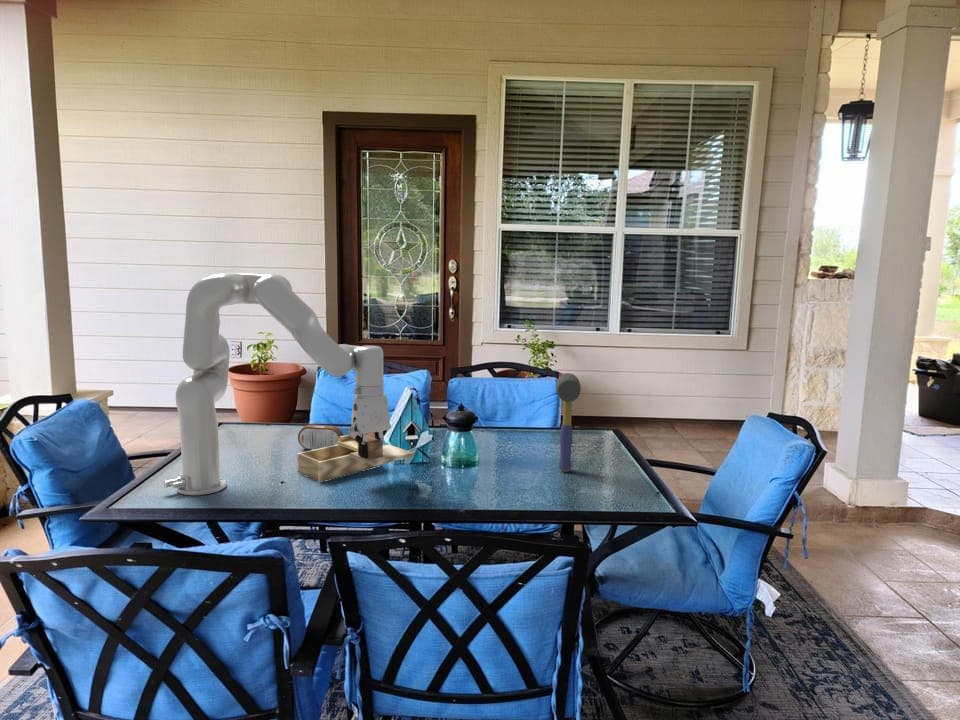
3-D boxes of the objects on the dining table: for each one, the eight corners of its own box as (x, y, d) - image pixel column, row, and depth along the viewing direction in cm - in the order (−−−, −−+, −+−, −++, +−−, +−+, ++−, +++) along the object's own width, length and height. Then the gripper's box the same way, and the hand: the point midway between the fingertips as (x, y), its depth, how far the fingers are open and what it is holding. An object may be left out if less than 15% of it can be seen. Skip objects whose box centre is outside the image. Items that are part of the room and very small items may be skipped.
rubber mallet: (577, 478, 196) (582, 379, 191) (552, 476, 197) (556, 378, 192) (576, 465, 208) (580, 372, 204) (552, 464, 209) (556, 371, 205)
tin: (343, 449, 220) (343, 425, 219) (341, 452, 217) (340, 427, 216) (300, 447, 221) (299, 423, 220) (296, 450, 218) (296, 425, 217)
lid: (375, 466, 177) (374, 446, 176) (350, 456, 185) (349, 437, 184) (413, 455, 186) (413, 437, 186) (388, 447, 194) (388, 429, 194)
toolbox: (319, 482, 187) (319, 454, 186) (297, 472, 195) (297, 445, 194) (381, 466, 203) (381, 439, 202) (358, 458, 211) (358, 432, 210)
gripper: (352, 397, 171) (353, 464, 174) (402, 389, 183) (402, 452, 186) (335, 392, 176) (337, 458, 179) (385, 385, 188) (386, 447, 191)
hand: (370, 454), depth 183 cm, fingers closed on lid, 4 cm apart
